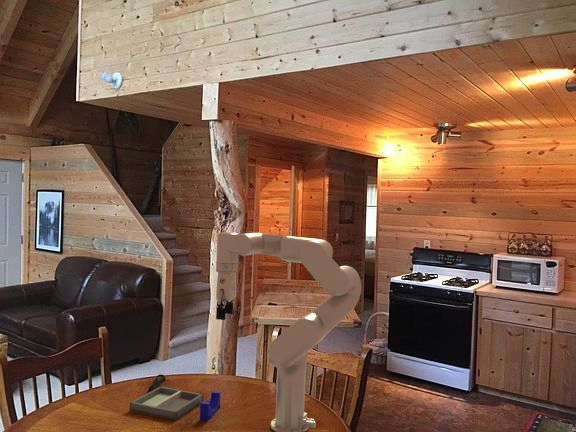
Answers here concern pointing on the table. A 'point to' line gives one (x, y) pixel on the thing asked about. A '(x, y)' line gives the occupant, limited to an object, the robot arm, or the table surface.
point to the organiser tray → (166, 403)
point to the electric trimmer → (157, 382)
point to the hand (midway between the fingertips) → (224, 316)
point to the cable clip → (210, 406)
